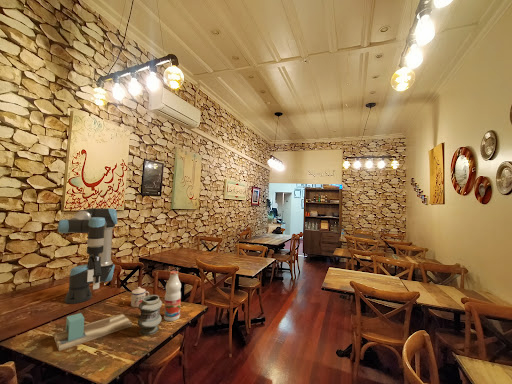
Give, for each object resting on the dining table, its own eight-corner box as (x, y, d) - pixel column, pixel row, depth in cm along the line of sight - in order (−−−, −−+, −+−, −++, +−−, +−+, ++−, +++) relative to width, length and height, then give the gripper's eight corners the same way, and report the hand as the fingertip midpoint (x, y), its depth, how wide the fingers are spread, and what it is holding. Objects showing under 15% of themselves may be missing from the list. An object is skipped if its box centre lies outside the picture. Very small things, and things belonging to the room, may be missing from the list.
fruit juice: (178, 313, 150) (181, 269, 152) (180, 320, 142) (183, 273, 143) (163, 315, 146) (165, 270, 148) (164, 322, 138) (166, 274, 139)
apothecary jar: (136, 339, 121) (138, 303, 122) (137, 327, 132) (139, 294, 133) (161, 334, 126) (163, 300, 127) (160, 323, 137) (162, 292, 138)
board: (53, 337, 120) (54, 327, 120) (122, 316, 143) (122, 308, 143) (58, 351, 109) (59, 340, 110) (131, 326, 133) (132, 317, 133)
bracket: (65, 334, 119) (66, 316, 120) (79, 330, 124) (81, 312, 124) (68, 340, 114) (69, 322, 115) (83, 336, 119) (84, 317, 119)
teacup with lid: (134, 308, 154) (135, 290, 155) (128, 304, 160) (129, 287, 161) (151, 303, 164) (152, 286, 164) (145, 299, 169) (146, 282, 170)
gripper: (82, 242, 134) (79, 280, 133) (92, 250, 117) (89, 293, 116) (97, 241, 139) (95, 277, 139) (109, 249, 122) (107, 290, 122)
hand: (92, 285), depth 127 cm, fingers open, 13 cm apart
